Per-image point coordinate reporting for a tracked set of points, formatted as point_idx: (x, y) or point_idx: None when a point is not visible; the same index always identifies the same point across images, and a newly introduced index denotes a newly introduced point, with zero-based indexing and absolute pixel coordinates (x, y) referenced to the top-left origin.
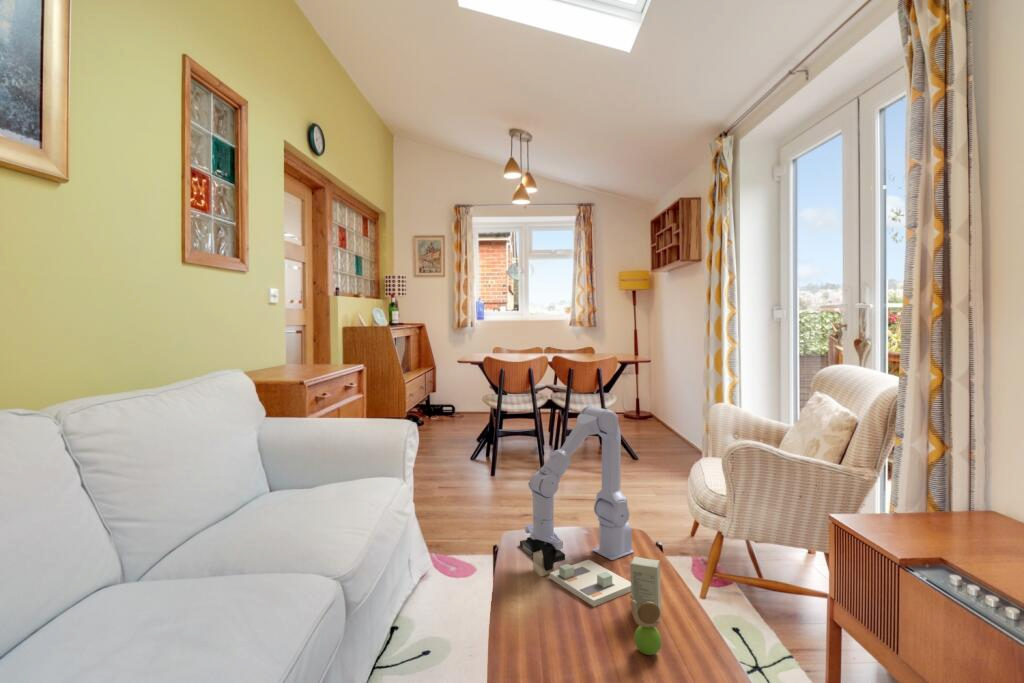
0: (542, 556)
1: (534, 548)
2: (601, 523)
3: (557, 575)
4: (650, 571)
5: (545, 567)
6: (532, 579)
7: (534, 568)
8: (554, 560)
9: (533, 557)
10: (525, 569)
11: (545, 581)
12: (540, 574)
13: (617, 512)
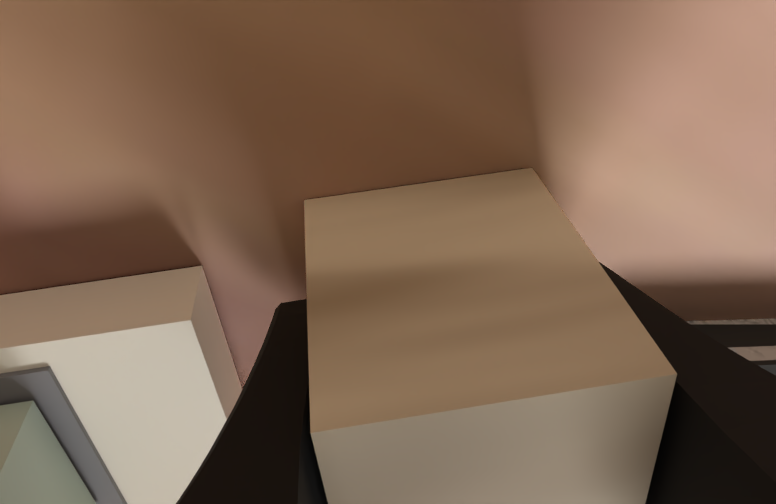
0: (374, 461)
1: (730, 477)
2: None
3: (41, 377)
4: None
5: (275, 331)
6: (276, 10)
7: (512, 194)
8: None
9: (616, 300)
10: (643, 78)
11: (129, 174)
12: (347, 201)
13: None
